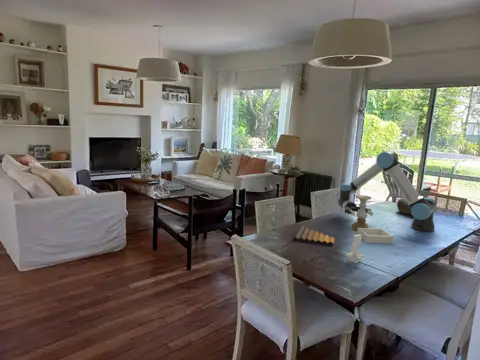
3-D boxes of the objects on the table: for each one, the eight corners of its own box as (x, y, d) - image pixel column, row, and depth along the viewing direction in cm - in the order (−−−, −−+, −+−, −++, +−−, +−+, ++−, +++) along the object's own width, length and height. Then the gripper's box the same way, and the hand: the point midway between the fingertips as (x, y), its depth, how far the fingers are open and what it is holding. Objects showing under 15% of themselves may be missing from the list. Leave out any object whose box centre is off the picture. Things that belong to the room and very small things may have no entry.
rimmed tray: (381, 234, 239) (382, 228, 238) (392, 243, 222) (393, 236, 221) (356, 234, 238) (357, 227, 237) (366, 242, 221) (367, 236, 221)
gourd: (431, 210, 301) (431, 190, 296) (428, 221, 281) (428, 201, 276) (399, 208, 314) (399, 189, 310) (394, 218, 294) (394, 199, 290)
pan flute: (299, 230, 245) (292, 241, 221) (299, 225, 244) (293, 236, 221) (336, 234, 237) (333, 247, 214) (336, 229, 236) (333, 241, 213)
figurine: (344, 262, 190) (347, 235, 188) (351, 257, 197) (353, 231, 195) (358, 265, 186) (360, 238, 183) (364, 260, 193) (366, 234, 190)
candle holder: (369, 232, 242) (373, 199, 238) (353, 231, 245) (356, 197, 240) (367, 227, 253) (370, 195, 249) (351, 226, 255) (354, 194, 251)
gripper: (364, 211, 268) (379, 219, 247) (333, 211, 264) (346, 219, 243) (365, 201, 266) (380, 208, 246) (334, 201, 263) (346, 208, 242)
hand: (363, 214), depth 244 cm, fingers open, 13 cm apart
